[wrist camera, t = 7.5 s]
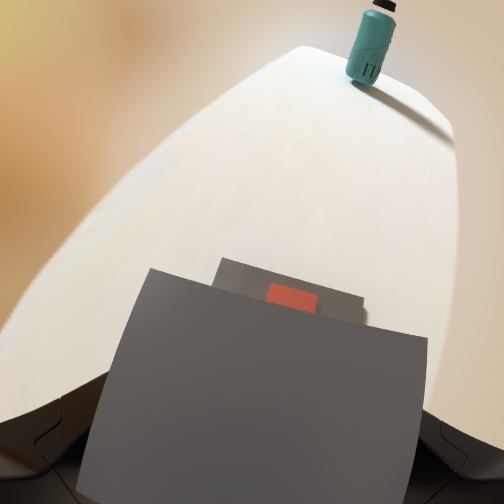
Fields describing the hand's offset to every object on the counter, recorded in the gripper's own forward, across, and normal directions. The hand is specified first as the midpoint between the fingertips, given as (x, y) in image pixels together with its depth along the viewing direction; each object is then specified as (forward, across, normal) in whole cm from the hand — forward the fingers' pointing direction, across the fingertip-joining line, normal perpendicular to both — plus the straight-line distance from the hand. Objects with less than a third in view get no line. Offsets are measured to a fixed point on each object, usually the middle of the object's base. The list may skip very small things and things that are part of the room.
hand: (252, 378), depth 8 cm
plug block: (+4, 0, +6) cm, 7 cm away
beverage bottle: (+47, -19, -29) cm, 58 cm away
